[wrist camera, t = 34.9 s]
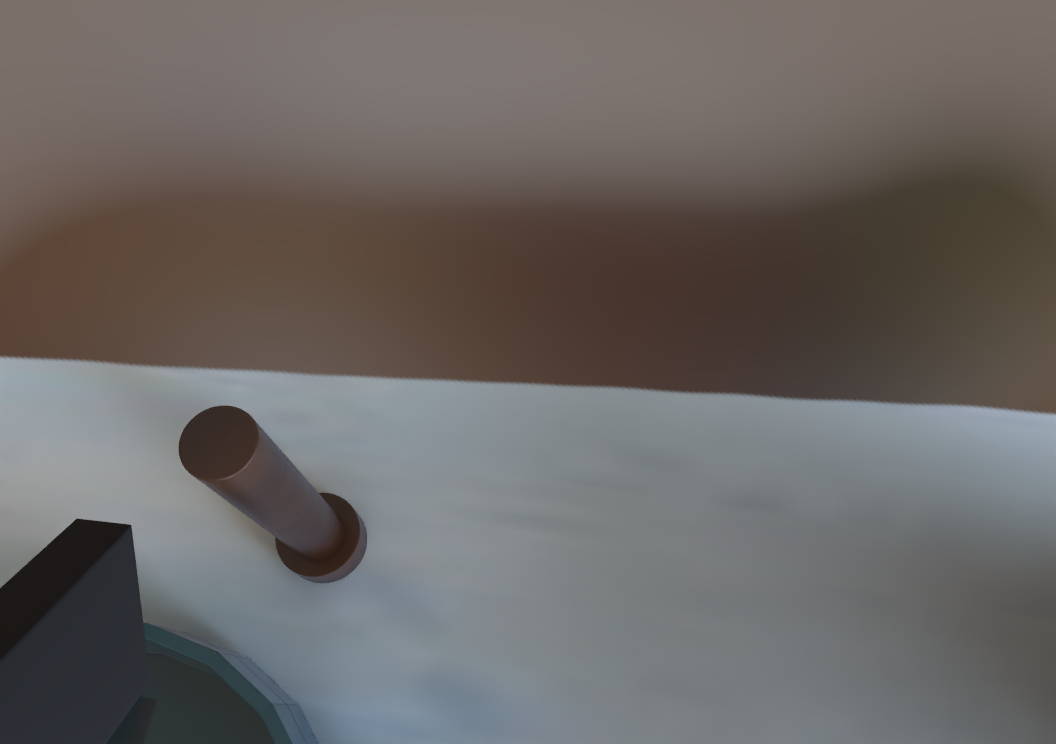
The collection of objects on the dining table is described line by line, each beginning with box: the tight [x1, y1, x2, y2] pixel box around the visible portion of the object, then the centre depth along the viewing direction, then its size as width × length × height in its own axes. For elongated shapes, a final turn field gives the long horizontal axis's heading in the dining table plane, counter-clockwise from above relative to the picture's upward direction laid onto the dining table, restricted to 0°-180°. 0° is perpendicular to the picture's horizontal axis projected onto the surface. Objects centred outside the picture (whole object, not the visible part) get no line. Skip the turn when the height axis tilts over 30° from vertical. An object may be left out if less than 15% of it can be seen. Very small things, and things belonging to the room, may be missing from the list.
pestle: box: [179, 406, 367, 583], centre depth 33 cm, size 4×4×16 cm
